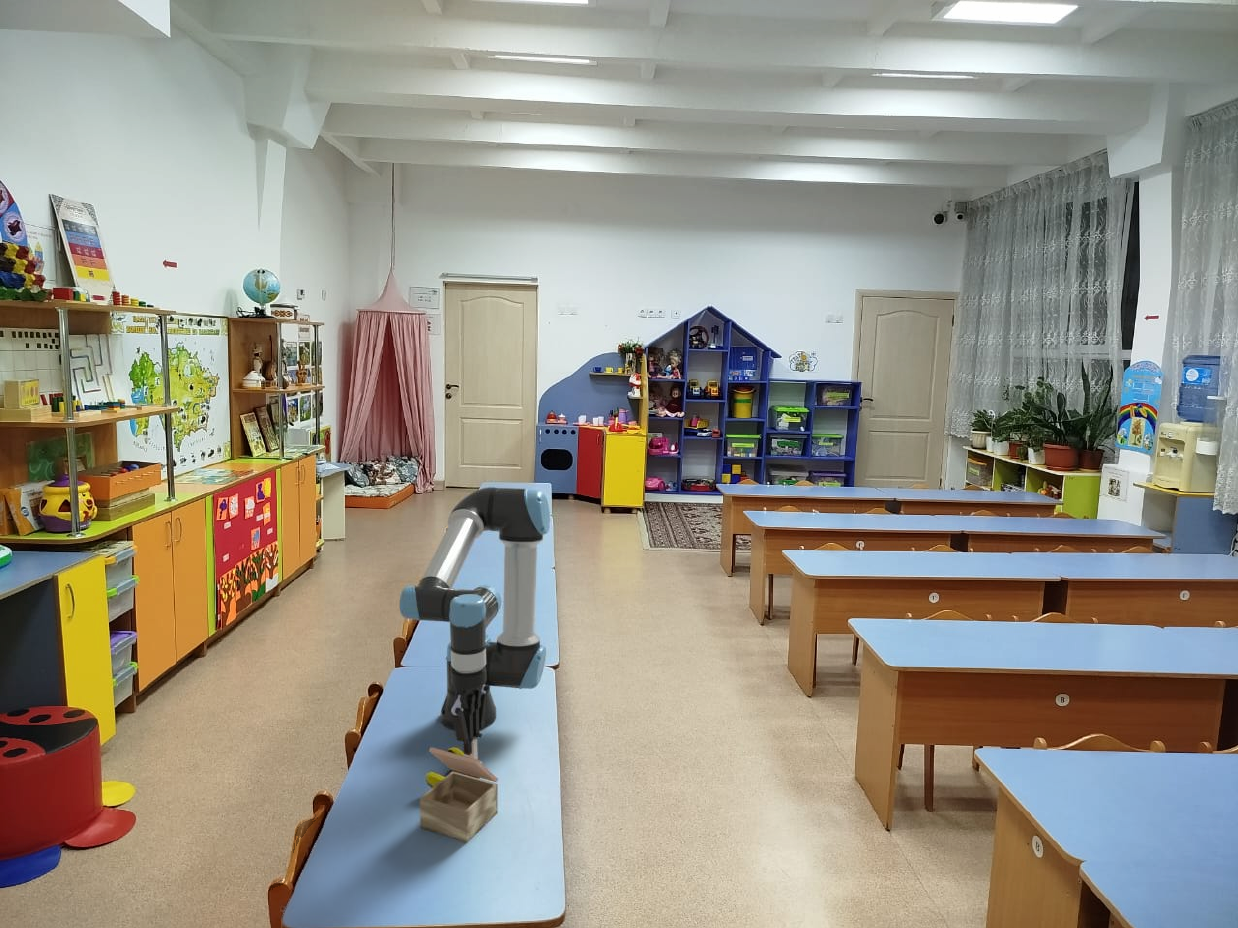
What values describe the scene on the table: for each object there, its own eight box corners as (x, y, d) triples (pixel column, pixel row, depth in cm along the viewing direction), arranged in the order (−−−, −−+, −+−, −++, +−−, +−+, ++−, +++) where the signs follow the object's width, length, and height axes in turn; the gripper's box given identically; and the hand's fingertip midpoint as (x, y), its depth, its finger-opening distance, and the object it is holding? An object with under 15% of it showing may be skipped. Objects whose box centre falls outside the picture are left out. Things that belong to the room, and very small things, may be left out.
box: (452, 799, 191) (452, 771, 189) (497, 812, 186) (497, 783, 185) (420, 827, 180) (419, 797, 179) (467, 842, 175) (467, 811, 174)
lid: (451, 769, 189) (453, 765, 190) (496, 782, 184) (498, 777, 185) (428, 750, 180) (430, 746, 181) (475, 763, 175) (477, 759, 176)
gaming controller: (422, 797, 191) (462, 803, 189) (422, 775, 190) (462, 781, 188) (449, 764, 206) (487, 770, 204) (449, 743, 205) (487, 749, 203)
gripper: (470, 651, 188) (472, 747, 192) (436, 674, 176) (439, 775, 181) (499, 657, 185) (500, 754, 189) (466, 681, 173) (469, 783, 178)
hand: (470, 764), depth 185 cm, fingers closed
